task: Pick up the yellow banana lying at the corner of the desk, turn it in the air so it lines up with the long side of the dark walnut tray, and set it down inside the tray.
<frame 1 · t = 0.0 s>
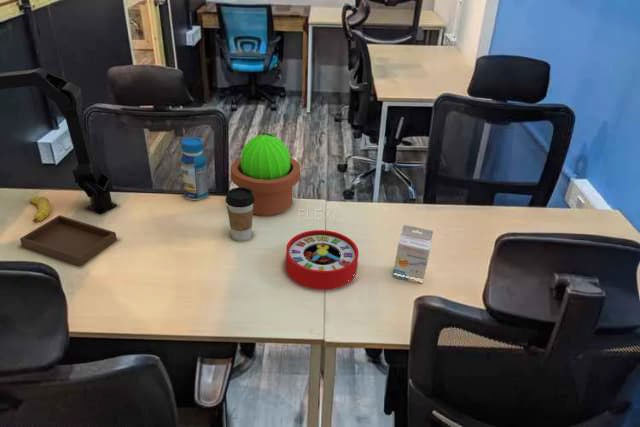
toy clock: (321, 267, 143), on the table
banana: (45, 211, 160), on the table
ink box: (408, 276, 142), on the table
potted cactus: (265, 203, 172), on the table
coffee cup: (241, 235, 154), on the table
tray: (70, 243, 146), on the table
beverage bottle: (196, 195, 174), on the table
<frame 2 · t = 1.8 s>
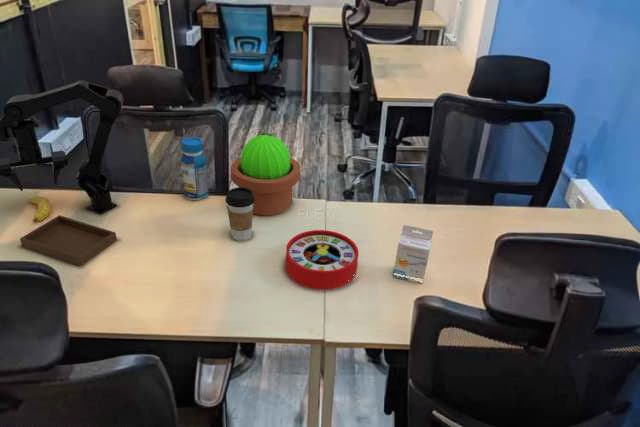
hand: (39, 187, 156), 8 cm above the table, tool pointing down, fingers open, 9 cm apart
nothing on the table moved.
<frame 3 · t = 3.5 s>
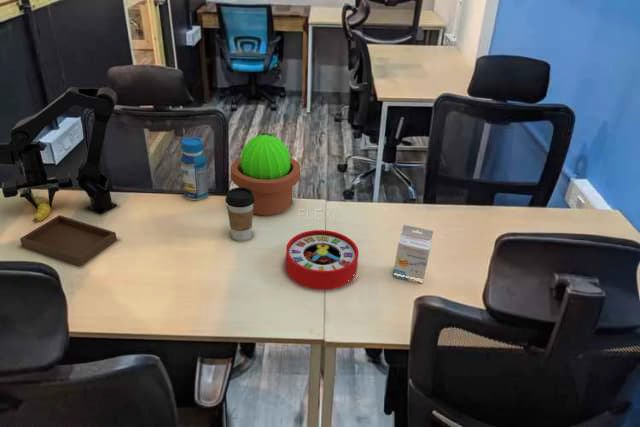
hand: (44, 208, 160), 1 cm above the table, tool pointing down, fingers closed on banana, 3 cm apart
banana: (45, 211, 160), on the table, touching gripper
everything else where it was.
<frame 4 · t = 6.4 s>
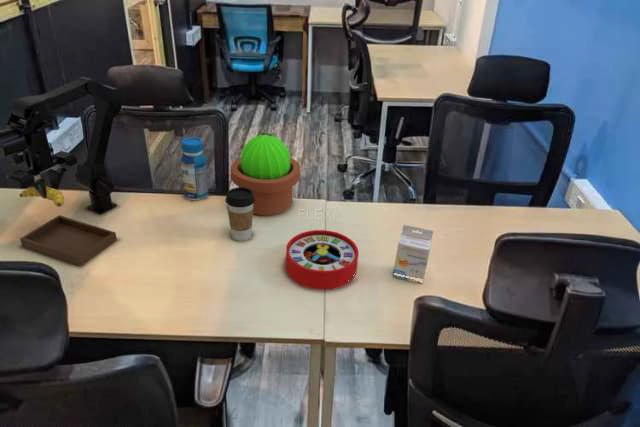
hand: (49, 195, 146), 12 cm above the table, tool pointing down, fingers closed on banana, 3 cm apart
banana: (50, 198, 147), point 11 cm above the table, touching gripper
everything else where it was.
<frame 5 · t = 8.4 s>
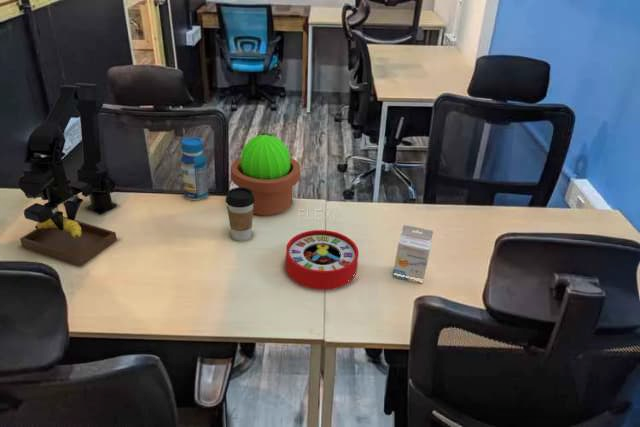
hand: (66, 226, 143), 6 cm above the table, tool pointing down, fingers closed on banana, 3 cm apart
banana: (66, 229, 144), point 5 cm above the table, touching gripper
everything else where it was.
when the fingers open (2 cm above the table, at t = 9.7 s): banana stays where it is, resting on tray.
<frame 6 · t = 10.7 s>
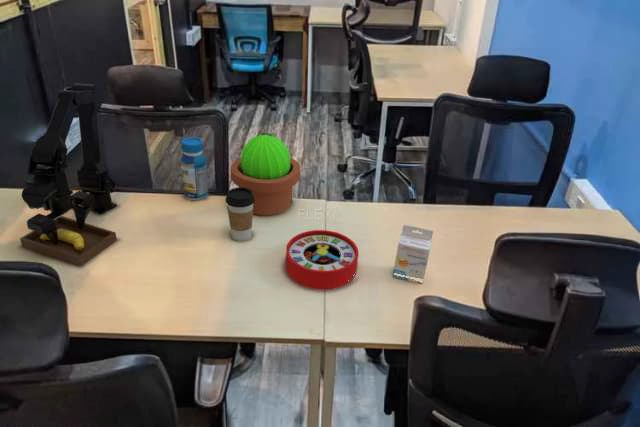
hand: (68, 236, 145), 2 cm above the table, tool pointing down, fingers open, 9 cm apart
banana: (69, 241, 146), point 1 cm above the table, touching tray
everything else where it was.
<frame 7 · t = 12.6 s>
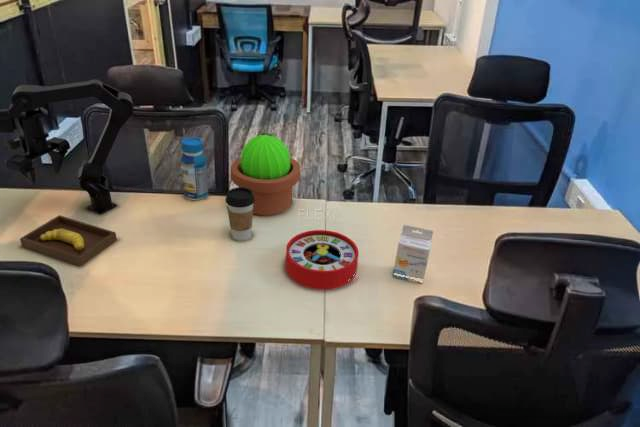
hand: (45, 179, 153), 12 cm above the table, tool pointing down, fingers open, 9 cm apart
nothing on the table moved.
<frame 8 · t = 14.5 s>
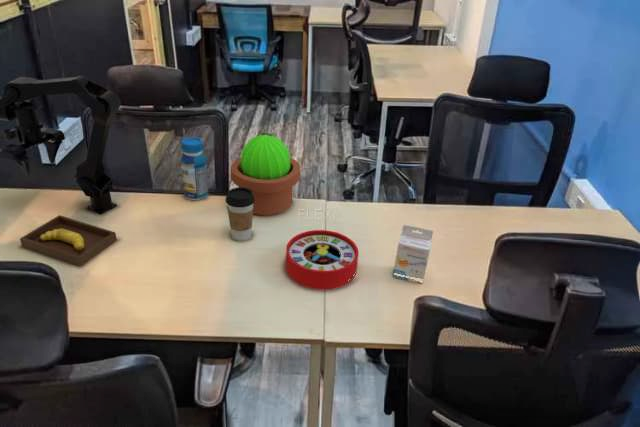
hand: (40, 168, 158), 12 cm above the table, tool pointing down, fingers open, 9 cm apart
nothing on the table moved.
at the end: banana inside the target area in the tray (0.1 cm from its centre), point 0.6 cm above the tray's base; the gripper is holding nothing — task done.
